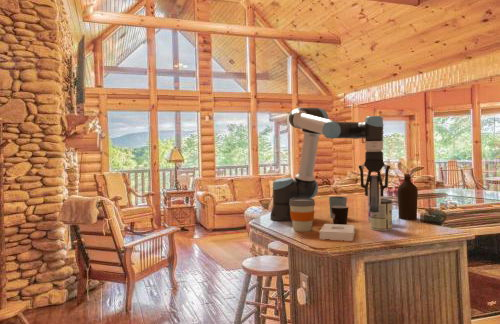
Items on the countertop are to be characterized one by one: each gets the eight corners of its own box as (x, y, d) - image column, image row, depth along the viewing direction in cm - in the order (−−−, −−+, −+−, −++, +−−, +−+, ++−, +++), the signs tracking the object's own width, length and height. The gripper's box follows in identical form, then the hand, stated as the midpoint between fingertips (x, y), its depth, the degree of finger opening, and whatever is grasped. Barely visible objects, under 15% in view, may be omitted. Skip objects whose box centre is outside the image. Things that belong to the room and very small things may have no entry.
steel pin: (369, 210, 170) (369, 175, 169) (378, 211, 168) (378, 175, 168) (369, 212, 166) (369, 176, 165) (378, 212, 165) (378, 176, 164)
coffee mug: (349, 228, 187) (349, 208, 187) (331, 227, 188) (331, 208, 188) (347, 223, 198) (347, 205, 198) (331, 223, 200) (331, 204, 200)
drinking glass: (328, 218, 215) (328, 197, 214) (330, 216, 224) (329, 196, 224) (346, 219, 212) (346, 198, 211) (347, 216, 221) (347, 196, 221)
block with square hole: (324, 231, 181) (324, 223, 181) (354, 232, 177) (354, 225, 176) (319, 239, 164) (319, 231, 164) (352, 240, 159) (352, 232, 159)
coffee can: (370, 226, 191) (370, 198, 190) (392, 227, 187) (391, 199, 187) (369, 230, 181) (369, 201, 181) (392, 231, 178) (392, 201, 177)
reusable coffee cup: (318, 228, 188) (317, 198, 188) (311, 233, 177) (311, 201, 177) (294, 226, 194) (293, 197, 193) (286, 231, 182) (285, 200, 182)
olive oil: (405, 220, 206) (404, 174, 205) (393, 217, 216) (393, 174, 215) (422, 219, 208) (421, 174, 207) (410, 216, 218) (409, 173, 218)
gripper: (353, 151, 165) (353, 204, 166) (395, 150, 160) (395, 205, 161) (354, 151, 173) (354, 201, 173) (394, 150, 167) (394, 203, 168)
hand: (374, 203), depth 167 cm, fingers closed on steel pin, 4 cm apart
